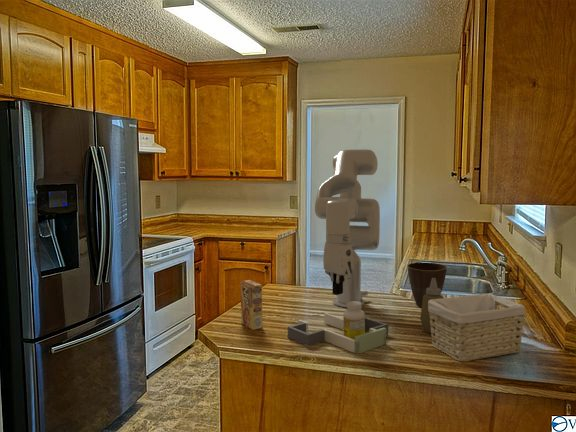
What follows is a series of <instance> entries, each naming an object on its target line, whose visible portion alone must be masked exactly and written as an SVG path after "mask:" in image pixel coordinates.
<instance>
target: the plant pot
mask: <svg viewBox="0 0 576 432" xmlns="http://www.w3.org/2000/svg"><path fill="white" fill-rule="evenodd" d="M447 269H448V266H447V265H444V264H441V263H435V262H413V263H409V264H407V273H408V279H409V285H410V289H411V293H412V296H413V299H414V303H415V305H416V307H418V308H421V309H422V302H423V296H424V295H425V294H427V293H426V289H427V288H430V284H431V280H432V278H436V283H437V288H439V289H441V294H440V295H442V292H443V288H444V284H445V281H446V275H447V271H448V270H447Z"/></svg>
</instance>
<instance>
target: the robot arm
mask: <svg viewBox="0 0 576 432" xmlns="http://www.w3.org/2000/svg"><path fill="white" fill-rule="evenodd" d="M378 163H379V162H378V158H377V154H376V153H375V152H374V151H373V150H372V149H366V148H363V149H362V148H361V149H344V150H341V151H339V152H338V154H336V155H334V156H333V159H332V168H333V175H332V176H330V177H329V178H327V180H325V181H324V182H323V183H322V184H321V185H320V187H318V188H319V189H318V190H317V192H316V198H315V202H314V213H315V215H316V217H317V218H319V219H321V220H325V243H324V248H323V262H322V263H323V269H324V271H325V274H327V275H328V276H329V277H330V281H331V282H332V295H335V296H336V297H335V298H333V299H332V303H333V304H334V305H335V306H337V307H343V308H347V307H346V304H347V302H350V301H357V302H361V303H362V306H364V305H365V299H363V297H366V296H368V295H369V291H367V290H364V291H362V290H361V286H362V285H361V281H362V280H361V277H362V275H361V274H362V272H361V271H362V262H361V258H360V256H359V255H358V253H357V252H356V250H357V251H358V250H359V251H360V250H361V251H364V250H365V251H373V250H378V247H379V245H380V238H381V237H380V236H381V235H380V233H381V232H380V229H381V227H380V226H381V223H380V222H381V220H380V219H381V214H380V213H381V212H380V211H381V210H380V204H379V202H378V200H376V199H375V198H362V185H361V183H360V182H359V180H358V176H373V175H375V174H376V172H377V170H378ZM337 195H339V196H337ZM351 223H366V224H367V225H356V224H355V225H350V224H351Z"/></svg>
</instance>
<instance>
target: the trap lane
mask: <svg viewBox="0 0 576 432" xmlns="http://www.w3.org/2000/svg"><path fill="white" fill-rule="evenodd" d="M323 315H324V321H323V323H324V324H325V325H328V326H331V327H334V328H336V329H339V330H342V331H343V317H340V316H337V315H333V314H331V313H327V312H325V313H324V314H323ZM297 321H298V323H297V324H293V325H290V326H287V338H289V339H291V340H292V341H295V342H298V343H300V344H302V345H305V346H307V347H309V346H313V345H315V344H316V345H317V344H319V343H322V342H327V343H328V344H332V345H334V346H337V347H339V348H341V349H343V350H346V351H349V352H351V353H354V354H357V355H358V354H361V353H364V352H366V351H369V350H373V349H375V348H378V347H380V346H381V347H382V346H383V345H386V344H387V336H388V335H389V324H388V323H385V322H382V321H378V320H375V319H373V318H369V317H367V316H365V334H362V335H358V336H355V340H354V339H351V338H348V337H346V336H343V335H342V334H341V333H338V332H334V331H332V330H329V329H326V328H323V329H320V330H319V329H318V330H316V331H312V332H309V321H305V320H302V319H298V320H297Z"/></svg>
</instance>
